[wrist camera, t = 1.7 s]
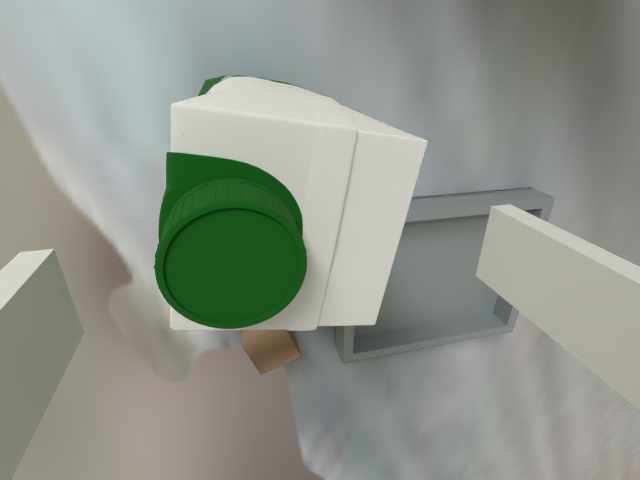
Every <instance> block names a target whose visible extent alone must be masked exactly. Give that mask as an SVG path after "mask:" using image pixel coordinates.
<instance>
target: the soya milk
mask: <svg viewBox="0 0 640 480" xmlns="http://www.w3.org/2000/svg"><path fill="white" fill-rule="evenodd" d="M427 143H428V141H427V140H424V139H422V138H419V137H416V136H414V135H411V134H408V133H406V132H404V131H401V130H399V129H397V128H394V127H392V126H390V125H387V124H385V123H382V122H380V121H378V120H375V119H373V118H371V117H368V116H366V115H364V114H361V113H359V112H357V111H354V110H352V109H349V108H347V107H345V106H343V105H340V104H339V103H337V102H336V101H335V100H334V99H332V98H330V97H325V96H322V95H319V94H317V93H314V92H311V91H308V90H306V89H303V88H300V87H297V86H295V85H292V84H288V83H284V82H279V81H274V80H268V79H262V78H256V77H248V76H239V75H230V76H222V77H218V78H213V79H209V80H206V81H205V83H204V85H203V87H202V89H201V91H200V93H199V95H198V96H197V97H194V98H190V99H186V100H183V101H179V102H175V103H172V104H171V150H170V152H167V157H166V190H165V194H164V197H163V201H162V205H161V210H160V217H159V244H158V248H157V251H156V254H155V258H156V259H155V266H154V269H155V275H156V280H157V284H158V286H159V289H160V291H161V293H162V295H163V297H164V298H165V299H166V301H167V302H168V303H169V304H170V327H171V328H172V329H173V330H179V331H193V330H279V329H286V330H289V331H309V330H316V329H317V326H358V325H375V323H376V320H377V316H378V313H379V309H380V306H381V302H382V299H383V296H384V292H385V289H386V285H387V282H388V278H389V275H390V271H391V268H392V265H393V261H394V258H395V254H396V251H397V247H398V244H399V240H400V237H401V233H402V230H403V227H404V223H405V220H406V216H407V213H408V209H409V206H410V202H411V199H412V196H413V192H414V189H415V185H416V182H417V178H418V175H419V171H420V168H421V164H422V161H423V158H424V154H425V151H426V147H427Z"/></svg>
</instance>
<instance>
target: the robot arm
mask: <svg viewBox="0 0 640 480" xmlns="http://www.w3.org/2000/svg"><path fill="white" fill-rule="evenodd" d="M476 276H477V277H478V278H479V279H481V280H482V281H483V282H484V283H485V284H487V285H488V286H489V287H490V288H491V289H493V290H494V291H495V292H496V293H498V294H499V295H500V296H501V297H502V298H504V299H505V300H506V301H507V302H508V303H510V304H511V305H512V306H513V307H514V308H516V309H517V310H518V311H519V312H521V313H522V314H523V315H524V316H525V317H527V318H528V319H529V320H530V321H531V322H533V323H534V324H535V325H536V326H538V327H539V328H540V329H541V330H542V331H544V332H545V333H546V334H547V335H548V336H550V337H551V338H552V339H553V340H555V341H556V342H557V343H558V344H559V345H561V346H562V347H563V348H564V349H565V350H567V351H568V352H569V353H570V354H571V355H573V356H574V357H575V358H576V359H578V360H579V361H580V362H581V363H582V364H584V365H585V366H586V367H587V368H588V369H590V370H591V371H592V372H593V373H595V374H596V375H597V376H598V377H599V378H601V379H602V380H603V381H604V382H605V383H607V384H608V385H609V386H610V387H611V388H613V389H614V390H615V391H616V392H618V393H619V394H620V395H621V396H622V397H624V398H625V399H626V400H627V401H628V402H630V403H631V404H632V405H633V406H635V407H636V408H637V409H638V410H639V411H640V267H639V266H637V265H635V264H633V263H631V262H629V261H627V260H625V259H623V258H621V257H618V256H616V255H614V254H612V253H610V252H608V251H606V250H604V249H602V248H600V247H598V246H596V245H594V244H592V243H590V242H587V241H585V240H583V239H581V238H579V237H577V236H575V235H573V234H571V233H569V232H567V231H565V230H563V229H561V228H558V227H556V226H554V225H552V224H550V223H548V222H546V221H544V220H542V219H540V218H538V217H536V216H534V215H532V214H530V213H527V212H525V211H523V210H521V209H519V208H517V207H515V206H513V205H511V204H508V205H498V206H491V210H490V214H489V218H488V223H487V227H486V232H485V236H484V241H483V245H482V250H481V254H480V258H479V263H478V267H477V272H476ZM83 334H84V331H83V328H82V325H81V322H80V319H79V317H78V314H77V311H76V308H75V305H74V303H73V300H72V297H71V294H70V292H69V289H68V286H67V284H66V280H65V278H64V275H63V272H62V270H61V267H60V264H59V261H58V258H57V256H56V253H55V250H54V249H48V250H38V251H28V252H20V253H19V254H18V255H17V256H16V257H15V258H13V260H11V261H10V262H9V263H8V264H7V265H6V266H5V267H4V268H3V269H2V270H1V271H0V480H11V479H12V477H13V475H14V473H15V471H16V469H17V467H18V465H19V463H20V461H21V459H22V457H23V455H24V453H25V451H26V449H27V447H28V445H29V443H30V441H31V439H32V437H33V435H34V433H35V431H36V429H37V427H38V425H39V423H40V421H41V419H42V417H43V415H44V412H45V411H46V409H47V407H48V404H49V402H50V400H51V399H52V396H53V394H54V392H55V390H56V388H57V386H58V384H59V382H60V380H61V378H62V376H63V374H64V372H65V370H66V368H67V366H68V364H69V362H70V360H71V358H72V356H73V354H74V352H75V350H76V348H77V346H78V344H79V342H80V340H81V338H82V336H83Z"/></svg>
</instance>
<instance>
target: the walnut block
mask: <svg viewBox="0 0 640 480" xmlns="http://www.w3.org/2000/svg"><path fill="white" fill-rule="evenodd" d="M241 339H242V347H243V348H244V350H245V351H246V353H247V354H248V356H249V357H250V359H251V360H252V362H253V363H254V365H255V366H256V368H257V369H258V371H259V372H260V374H264V373H266V372H268V371H270V370H272V369H275V368H277V367H279V366H281V365H283V364H286V363H288V362H290V361H292V360H294V359H296V358H299V357H301V355H300V351H299V348H298V344H297V340H296V336H295V333H294V331H289V330H286V329H279V330H241Z"/></svg>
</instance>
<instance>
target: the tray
mask: <svg viewBox="0 0 640 480" xmlns="http://www.w3.org/2000/svg"><path fill="white" fill-rule="evenodd" d="M554 198H555V197H552V196H550V195H548V194H545V193H543V192H540V191H538V190H536V189H533V188H531V187H529V188H518V189H506V190H494V191H483V192H471V193H459V194H448V195H436V196H424V197H412V199H411V202H410V206H409V209H408V213H407V216H406V220H405V223H404V227H403V230H402V233H401V237H400V240H399V244H398V247H397V251H396V254H395V258H394V261H393V265H392V268H391V271H390V275H389V278H388V282H387V285H386V289H385V292H384V296H383V299H382V302H381V306H380V309H379V313H378V316H377V320H376V323H375V325H358V326H335V345H336V347H337V350H338V352H339V355H340V357H341V360H342V362H343V363H348V362H353V361H358V360H364V359H369V358H374V357H380V356H385V355H390V354H396V353H401V352H406V351H412V350H417V349H422V348H428V347H433V346H438V345H444V344H449V343H454V342H460V341H465V340H471V339H476V338H481V337H487V336H492V335H497V334H503V333H508V332H513V328H514V325H515V322H516V319H517V316H518V313H519V311H518V310H517V309H516V308H514V307H513V306H512V305H511V304H510V303H508V302H507V301H506V300H505V299H504V298H502V297H501V296H500V295H499V294H498V293H496V292H495V291H494V290H493V289H491V288H490V287H489V286H488V285H487V284H485V283H484V282H483V281H482V280H481V279H479V278H478V277H477V276H476V272H477V267H478V263H479V258H480V254H481V250H482V245H483V241H484V236H485V232H486V227H487V223H488V218H489V214H490V210H491V206H498V205H508V204H511V205H513V206H515V207H517V208H519V209H521V210H523V211H525V212H527V213H530V214H532V215H534V216H536V217H538V218H540V219H542V220H544V221H546V222H547V220H548V217H549V214H550V211H551V208H552V205H553V201H554Z"/></svg>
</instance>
